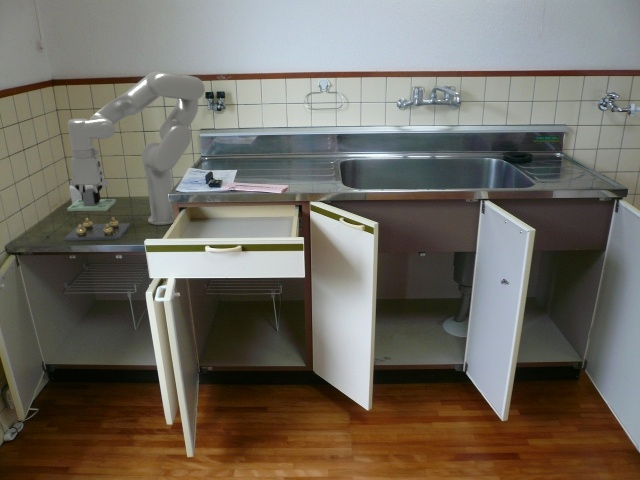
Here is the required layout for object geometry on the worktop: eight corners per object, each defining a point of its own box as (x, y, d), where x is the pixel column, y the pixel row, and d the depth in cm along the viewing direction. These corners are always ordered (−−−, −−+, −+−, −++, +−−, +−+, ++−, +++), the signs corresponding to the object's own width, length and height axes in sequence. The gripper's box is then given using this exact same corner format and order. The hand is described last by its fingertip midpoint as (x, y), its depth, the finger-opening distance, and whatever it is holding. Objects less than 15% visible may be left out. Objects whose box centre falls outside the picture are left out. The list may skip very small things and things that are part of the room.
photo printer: (97, 204, 236) (92, 178, 231) (99, 207, 233) (94, 180, 228) (72, 209, 231) (67, 181, 226) (74, 212, 227) (69, 184, 223)
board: (115, 201, 204) (113, 186, 202) (106, 210, 194) (104, 194, 192) (79, 201, 204) (76, 186, 202) (67, 210, 194) (64, 195, 191)
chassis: (130, 226, 210) (128, 214, 208) (119, 239, 197) (117, 226, 196) (79, 227, 210) (77, 215, 208) (65, 240, 197) (62, 228, 195)
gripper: (110, 151, 196) (117, 199, 202) (64, 151, 195) (73, 199, 202) (103, 155, 189) (110, 205, 195) (56, 156, 188) (65, 205, 195)
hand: (91, 201), depth 198 cm, fingers closed on board, 3 cm apart
